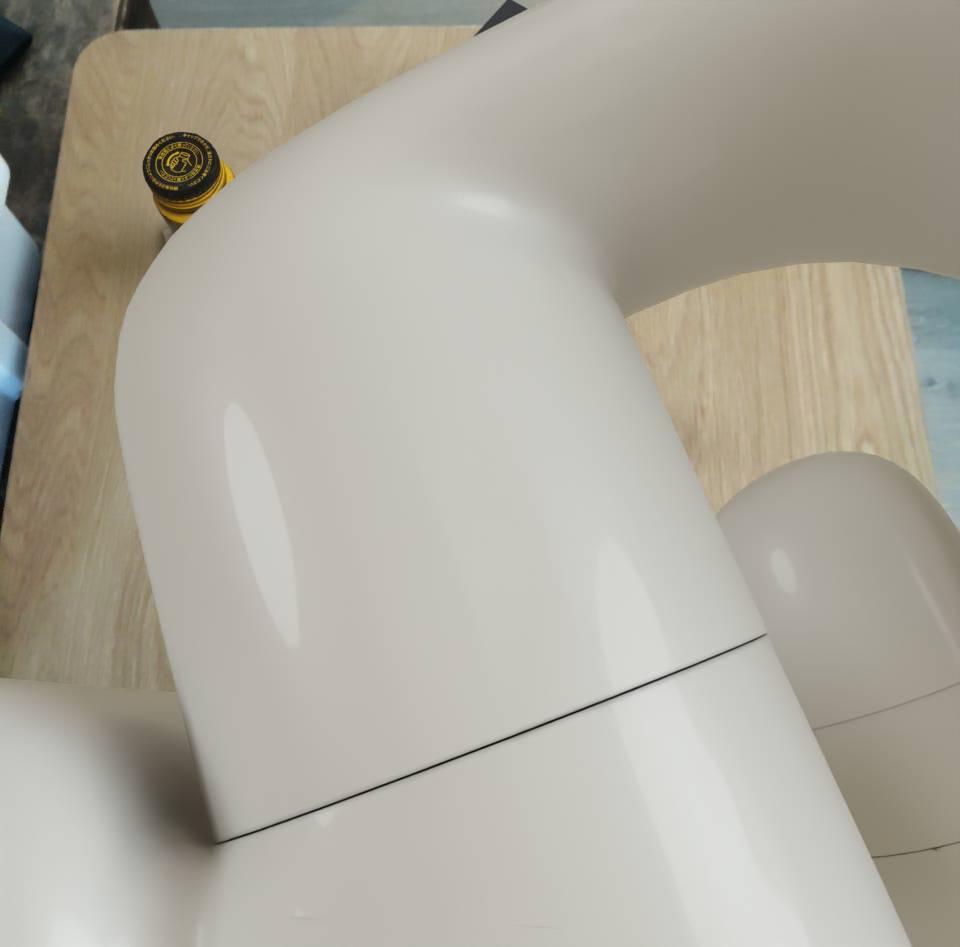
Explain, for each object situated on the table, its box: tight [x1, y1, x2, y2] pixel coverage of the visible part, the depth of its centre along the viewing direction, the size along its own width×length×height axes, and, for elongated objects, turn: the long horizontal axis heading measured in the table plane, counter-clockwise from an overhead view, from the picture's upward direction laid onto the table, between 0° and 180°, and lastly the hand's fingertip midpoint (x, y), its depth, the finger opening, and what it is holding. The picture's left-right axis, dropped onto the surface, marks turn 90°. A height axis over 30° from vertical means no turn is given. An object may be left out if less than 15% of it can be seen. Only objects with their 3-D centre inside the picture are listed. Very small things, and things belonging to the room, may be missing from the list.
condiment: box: [142, 131, 236, 244], centre depth 61 cm, size 7×8×12 cm
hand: (337, 794), depth 36 cm, fingers closed on water bottle, 5 cm apart
